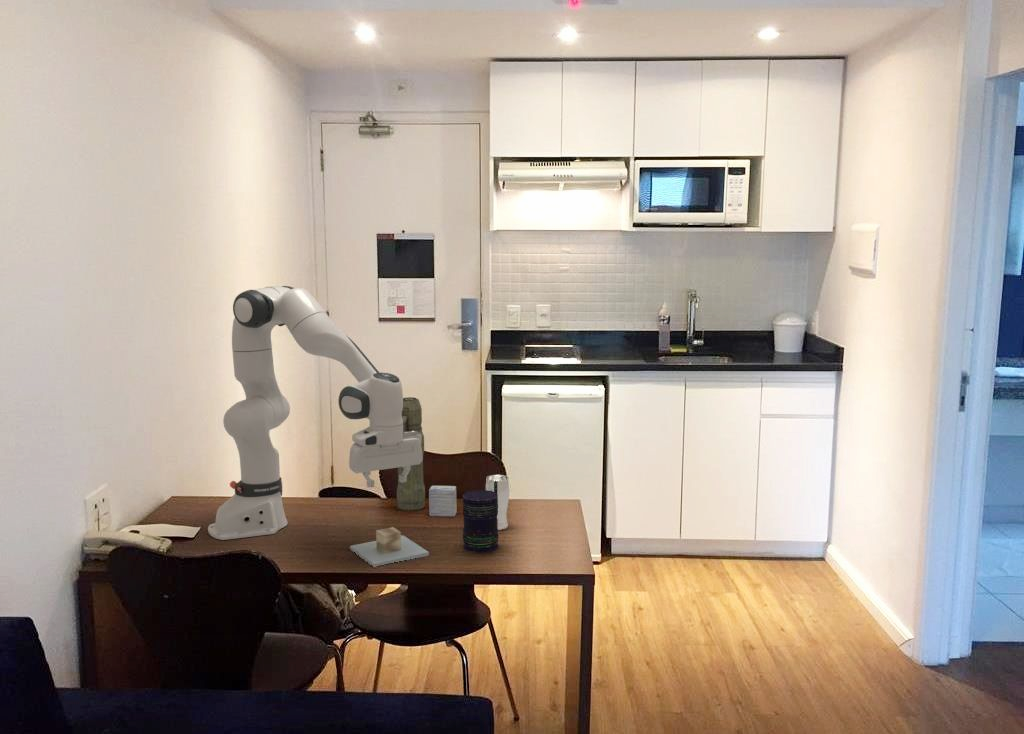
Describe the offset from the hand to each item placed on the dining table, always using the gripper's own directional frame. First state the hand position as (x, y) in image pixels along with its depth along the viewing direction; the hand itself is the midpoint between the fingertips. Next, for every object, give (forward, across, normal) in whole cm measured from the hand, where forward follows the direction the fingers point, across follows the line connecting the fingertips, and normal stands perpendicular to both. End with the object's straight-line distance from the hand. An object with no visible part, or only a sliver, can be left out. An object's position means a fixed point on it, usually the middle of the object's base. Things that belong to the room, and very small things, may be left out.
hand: (386, 484), depth 237 cm
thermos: (+20, -23, -33) cm, 45 cm away
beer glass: (+19, -36, -2) cm, 41 cm away
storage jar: (+19, -23, +10) cm, 32 cm away
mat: (+19, 0, 0) cm, 19 cm away
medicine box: (+19, -28, -21) cm, 40 cm away
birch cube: (+18, 0, 0) cm, 18 cm away
